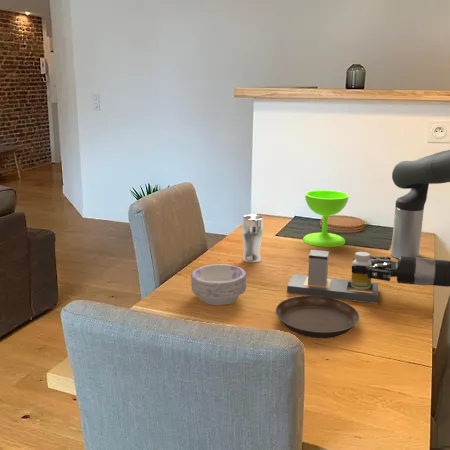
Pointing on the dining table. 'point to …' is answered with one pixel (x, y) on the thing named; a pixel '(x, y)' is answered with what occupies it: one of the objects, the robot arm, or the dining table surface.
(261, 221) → the beer glass
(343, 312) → the plant saucer
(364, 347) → the dining table surface
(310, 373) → the dining table surface
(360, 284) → the supplement bottle
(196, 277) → the paper bowls
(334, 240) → the wineglass
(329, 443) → the dining table surface
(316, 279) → the gray slotted tray
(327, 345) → the dining table surface
